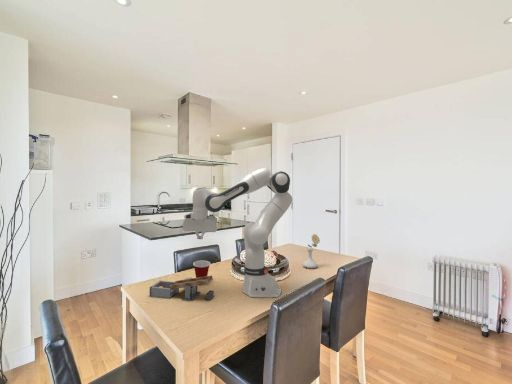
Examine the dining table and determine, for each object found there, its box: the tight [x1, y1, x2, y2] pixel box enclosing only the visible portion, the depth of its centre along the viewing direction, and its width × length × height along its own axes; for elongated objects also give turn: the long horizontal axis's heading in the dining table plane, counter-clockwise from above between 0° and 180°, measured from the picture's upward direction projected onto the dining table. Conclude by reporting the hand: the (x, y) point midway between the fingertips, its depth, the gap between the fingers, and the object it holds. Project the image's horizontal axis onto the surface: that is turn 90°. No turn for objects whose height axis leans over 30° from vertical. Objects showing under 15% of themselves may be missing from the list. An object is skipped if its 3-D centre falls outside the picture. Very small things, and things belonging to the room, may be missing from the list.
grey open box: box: [149, 280, 180, 299], centre depth 142 cm, size 12×10×5 cm
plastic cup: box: [192, 260, 211, 278], centre depth 160 cm, size 11×11×12 cm
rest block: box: [205, 289, 215, 301], centre depth 137 cm, size 2×5×3 cm, turn 169°
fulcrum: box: [181, 285, 202, 302], centre depth 139 cm, size 6×11×8 cm, turn 169°
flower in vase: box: [301, 233, 320, 269], centre depth 192 cm, size 13×11×25 cm
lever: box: [170, 275, 213, 290], centre depth 142 cm, size 22×14×2 cm, turn 79°
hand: (200, 239), depth 149 cm, fingers closed
